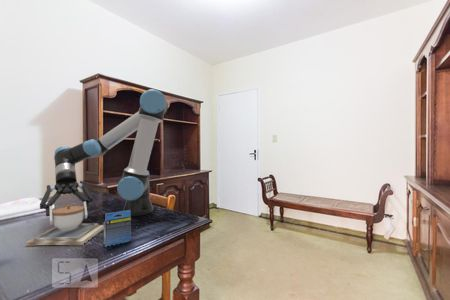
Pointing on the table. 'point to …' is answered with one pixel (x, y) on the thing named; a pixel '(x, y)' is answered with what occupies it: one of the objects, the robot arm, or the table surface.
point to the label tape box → (117, 228)
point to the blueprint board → (67, 235)
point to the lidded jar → (68, 217)
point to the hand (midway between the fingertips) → (69, 219)
